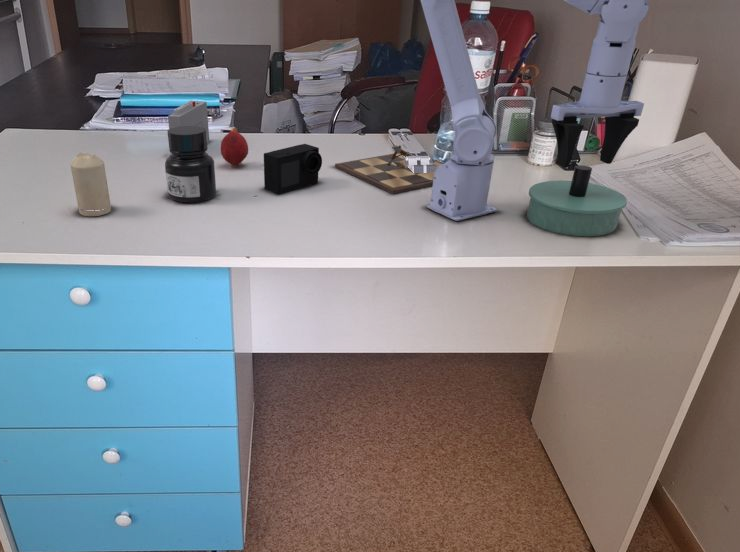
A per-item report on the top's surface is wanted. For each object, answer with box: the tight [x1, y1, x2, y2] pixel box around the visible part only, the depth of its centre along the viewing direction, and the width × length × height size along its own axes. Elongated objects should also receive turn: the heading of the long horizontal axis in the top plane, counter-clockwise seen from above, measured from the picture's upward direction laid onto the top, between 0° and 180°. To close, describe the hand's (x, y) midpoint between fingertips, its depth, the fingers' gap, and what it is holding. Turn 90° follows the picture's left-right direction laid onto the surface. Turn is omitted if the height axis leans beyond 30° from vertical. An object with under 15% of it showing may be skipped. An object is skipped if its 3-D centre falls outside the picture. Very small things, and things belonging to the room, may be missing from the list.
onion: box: [220, 126, 249, 167], centre depth 134 cm, size 6×6×8 cm
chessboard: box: [334, 153, 445, 195], centre depth 132 cm, size 20×20×1 cm
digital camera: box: [263, 143, 323, 195], centre depth 123 cm, size 10×5×7 cm, turn 131°
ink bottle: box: [164, 126, 217, 204], centre depth 117 cm, size 10×9×12 cm
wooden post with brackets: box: [387, 145, 414, 168], centre depth 131 cm, size 2×8×4 cm, turn 80°
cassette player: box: [167, 100, 210, 144], centre depth 145 cm, size 16×3×10 cm, turn 165°
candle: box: [69, 152, 112, 217], centre depth 111 cm, size 6×6×10 cm
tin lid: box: [528, 165, 628, 214], centre depth 106 cm, size 15×15×6 cm
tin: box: [526, 196, 623, 237], centre depth 108 cm, size 14×14×4 cm
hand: (584, 163), depth 104 cm, fingers open, 7 cm apart
